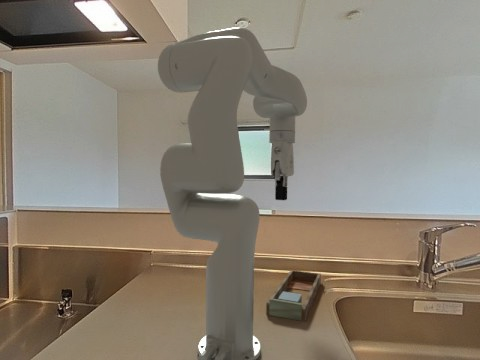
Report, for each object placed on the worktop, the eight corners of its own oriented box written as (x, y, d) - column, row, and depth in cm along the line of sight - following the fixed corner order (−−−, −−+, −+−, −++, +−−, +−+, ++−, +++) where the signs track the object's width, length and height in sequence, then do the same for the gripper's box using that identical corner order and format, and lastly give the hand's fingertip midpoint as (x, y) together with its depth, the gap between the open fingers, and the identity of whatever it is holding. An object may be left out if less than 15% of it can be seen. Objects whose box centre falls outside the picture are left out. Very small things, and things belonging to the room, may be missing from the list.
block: (297, 317, 82) (297, 301, 82) (277, 313, 84) (278, 298, 83) (301, 309, 86) (301, 294, 86) (282, 306, 88) (282, 291, 88)
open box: (304, 321, 79) (304, 305, 79) (266, 314, 83) (266, 298, 83) (320, 283, 105) (320, 270, 105) (290, 278, 108) (291, 267, 108)
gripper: (288, 135, 89) (287, 203, 90) (299, 139, 103) (298, 198, 104) (262, 136, 92) (261, 201, 93) (276, 139, 106) (275, 196, 107)
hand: (281, 199), depth 98 cm, fingers closed
